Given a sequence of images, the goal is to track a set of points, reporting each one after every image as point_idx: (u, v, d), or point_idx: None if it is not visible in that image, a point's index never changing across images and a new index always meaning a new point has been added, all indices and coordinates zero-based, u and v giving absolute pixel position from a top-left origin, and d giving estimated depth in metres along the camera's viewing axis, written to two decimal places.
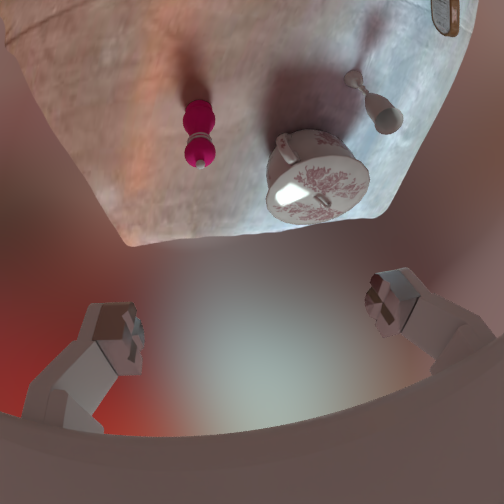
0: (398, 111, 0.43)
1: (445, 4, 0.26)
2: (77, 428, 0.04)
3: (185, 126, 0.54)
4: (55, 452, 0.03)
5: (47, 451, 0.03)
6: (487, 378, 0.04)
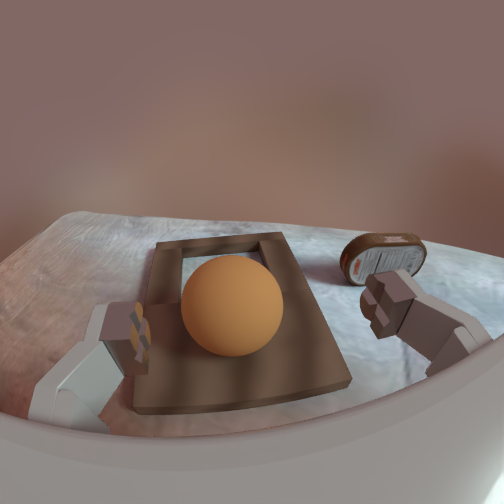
0: None
1: (382, 255, 0.36)
2: (85, 429, 0.04)
3: None
4: (55, 452, 0.03)
5: (47, 451, 0.03)
6: (487, 378, 0.04)
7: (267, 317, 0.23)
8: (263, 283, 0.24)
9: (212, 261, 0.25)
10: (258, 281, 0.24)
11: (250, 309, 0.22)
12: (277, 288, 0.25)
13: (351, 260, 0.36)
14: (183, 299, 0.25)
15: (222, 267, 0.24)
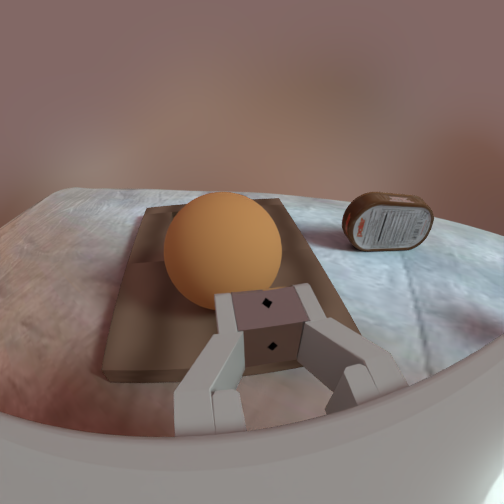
0: None
1: (388, 216, 0.33)
2: None
3: None
4: (55, 452, 0.03)
5: (47, 451, 0.03)
6: (487, 378, 0.04)
7: (263, 255, 0.20)
8: (258, 216, 0.20)
9: (201, 196, 0.22)
10: (253, 213, 0.20)
11: (243, 241, 0.19)
12: (275, 226, 0.22)
13: (354, 219, 0.33)
14: (166, 238, 0.21)
15: (212, 198, 0.21)
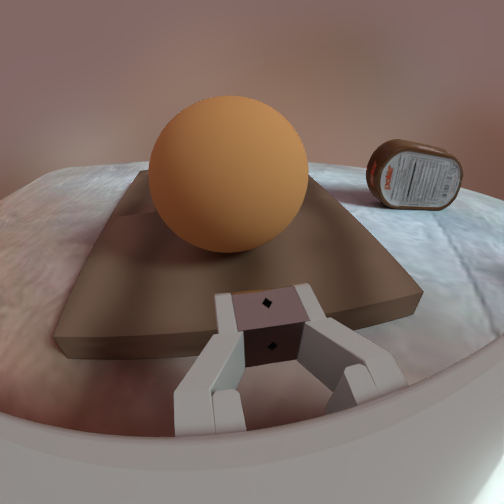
0: None
1: (417, 165, 0.26)
2: None
3: None
4: (55, 452, 0.03)
5: (47, 451, 0.03)
6: (487, 378, 0.04)
7: (287, 156, 0.13)
8: (277, 114, 0.14)
9: None
10: (269, 109, 0.14)
11: (258, 133, 0.12)
12: (298, 135, 0.15)
13: (381, 166, 0.26)
14: None
15: (215, 97, 0.14)
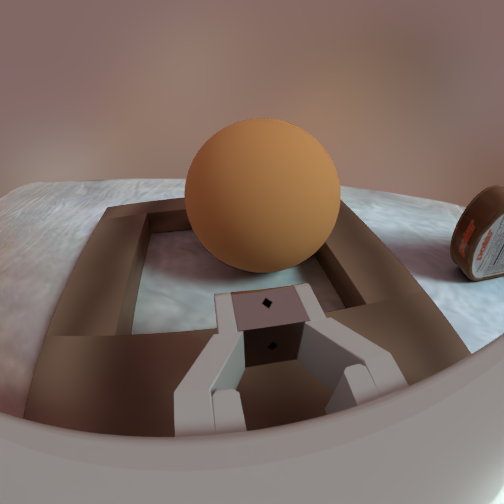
0: None
1: None
2: None
3: None
4: (55, 452, 0.03)
5: (47, 451, 0.03)
6: (487, 378, 0.04)
7: None
8: None
9: None
10: None
11: None
12: None
13: (483, 231, 0.14)
14: None
15: None
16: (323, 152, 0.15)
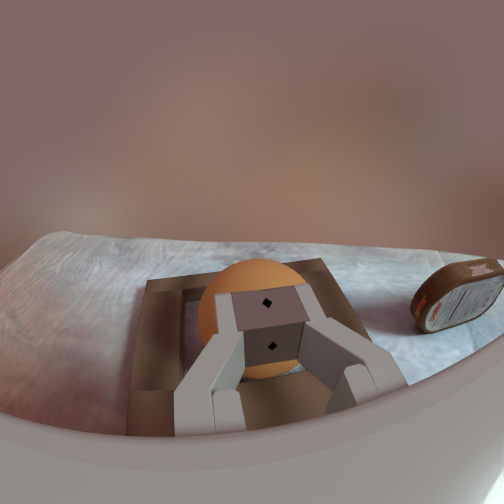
0: None
1: (466, 293, 0.21)
2: None
3: None
4: (55, 452, 0.03)
5: (47, 451, 0.03)
6: (487, 378, 0.04)
7: None
8: None
9: None
10: None
11: None
12: None
13: (432, 305, 0.22)
14: None
15: None
16: None
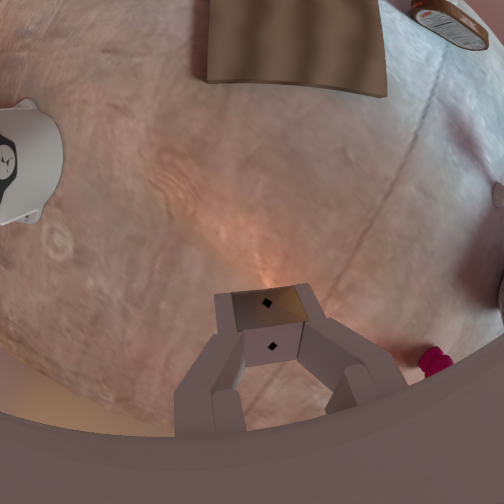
0: None
1: (452, 23, 0.19)
2: None
3: None
4: (55, 452, 0.03)
5: (47, 451, 0.03)
6: (487, 378, 0.04)
7: None
8: None
9: None
10: None
11: None
12: None
13: (424, 8, 0.19)
14: None
15: None
16: None
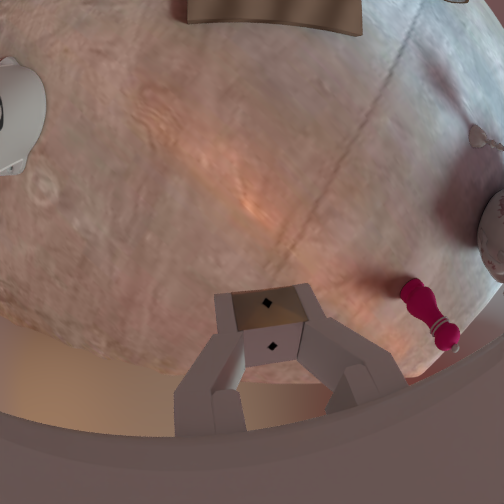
0: None
1: None
2: None
3: (416, 317, 0.52)
4: (55, 452, 0.03)
5: (47, 451, 0.03)
6: (487, 378, 0.04)
7: None
8: None
9: None
10: None
11: None
12: None
13: None
14: None
15: None
16: None
